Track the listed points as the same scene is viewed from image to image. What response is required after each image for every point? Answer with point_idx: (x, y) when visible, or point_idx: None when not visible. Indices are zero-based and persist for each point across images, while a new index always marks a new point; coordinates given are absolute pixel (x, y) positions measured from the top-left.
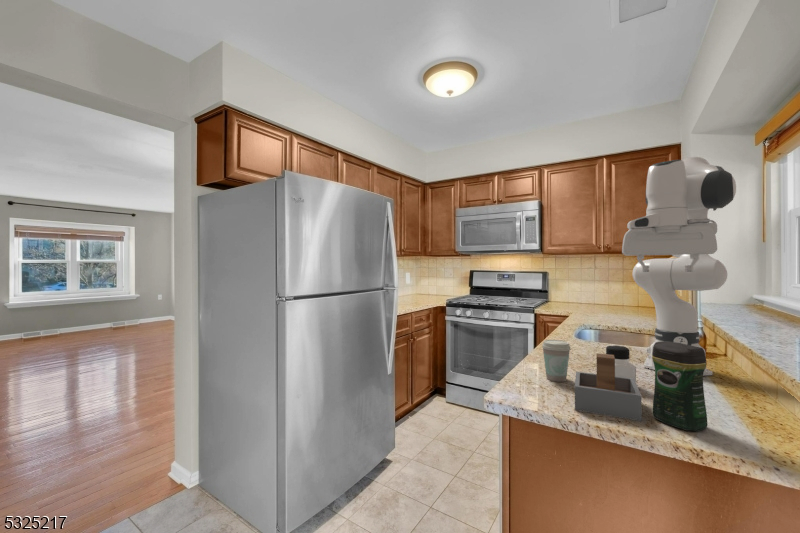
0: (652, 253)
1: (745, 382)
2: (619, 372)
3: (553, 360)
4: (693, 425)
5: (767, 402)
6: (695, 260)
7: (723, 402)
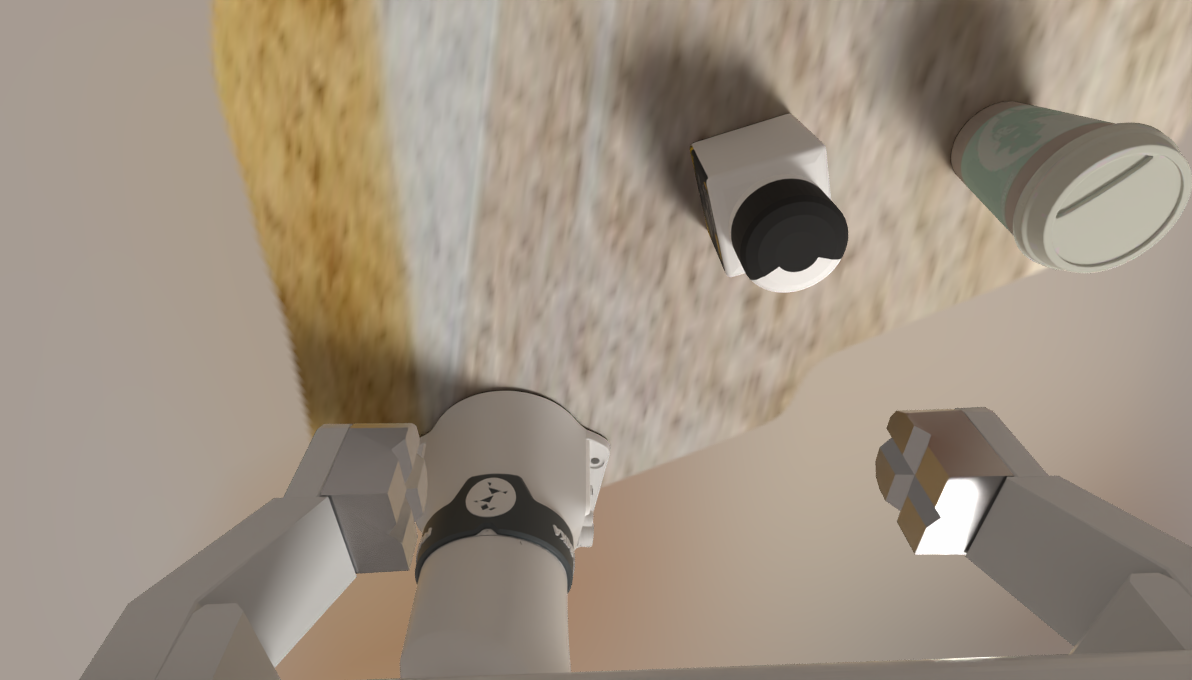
0: (1092, 677)
1: (324, 414)
2: (771, 145)
3: (1090, 118)
4: None
5: (276, 222)
6: (208, 567)
7: (405, 146)
